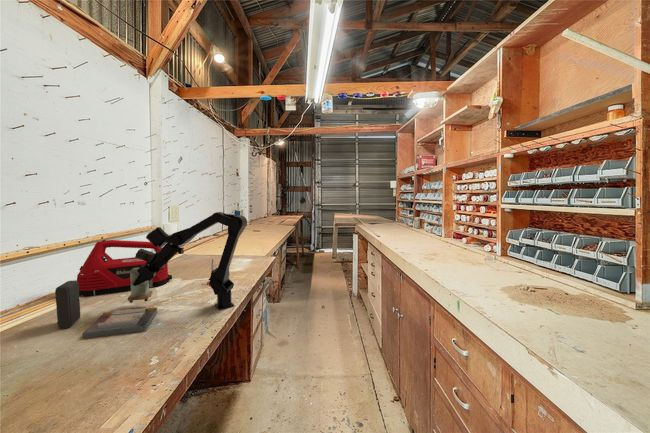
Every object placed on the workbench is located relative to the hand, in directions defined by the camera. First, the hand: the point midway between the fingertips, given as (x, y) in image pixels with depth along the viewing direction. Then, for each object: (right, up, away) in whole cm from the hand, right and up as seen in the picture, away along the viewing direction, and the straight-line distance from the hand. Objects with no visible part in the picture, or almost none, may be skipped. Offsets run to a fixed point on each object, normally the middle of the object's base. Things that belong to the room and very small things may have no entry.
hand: (135, 283), depth 117 cm
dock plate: (+5, -12, -14) cm, 18 cm away
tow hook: (+21, -8, +34) cm, 41 cm away
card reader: (-15, -12, -13) cm, 23 cm away
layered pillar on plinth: (+1, -7, +1) cm, 7 cm away
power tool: (-22, -9, +27) cm, 36 cm away
